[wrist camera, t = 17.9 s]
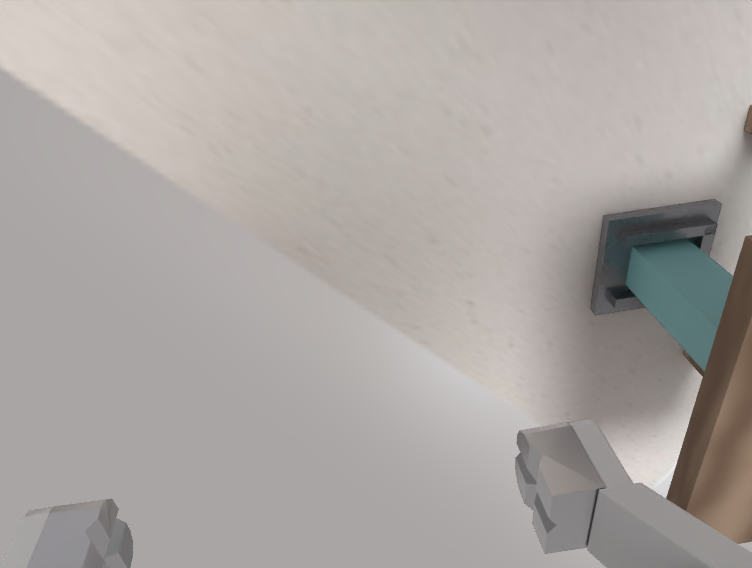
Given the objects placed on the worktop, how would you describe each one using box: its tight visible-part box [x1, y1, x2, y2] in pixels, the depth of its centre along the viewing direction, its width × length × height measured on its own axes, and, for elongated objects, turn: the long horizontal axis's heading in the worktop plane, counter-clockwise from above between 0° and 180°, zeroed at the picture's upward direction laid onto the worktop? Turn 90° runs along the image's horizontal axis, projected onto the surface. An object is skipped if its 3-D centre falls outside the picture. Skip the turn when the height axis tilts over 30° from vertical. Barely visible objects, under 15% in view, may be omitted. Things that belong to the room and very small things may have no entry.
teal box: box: [626, 238, 733, 372], centre depth 47 cm, size 5×4×12 cm
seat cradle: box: [590, 199, 722, 315], centre depth 52 cm, size 10×10×2 cm
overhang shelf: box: [666, 105, 752, 544], centre depth 44 cm, size 15×26×20 cm, turn 5°
